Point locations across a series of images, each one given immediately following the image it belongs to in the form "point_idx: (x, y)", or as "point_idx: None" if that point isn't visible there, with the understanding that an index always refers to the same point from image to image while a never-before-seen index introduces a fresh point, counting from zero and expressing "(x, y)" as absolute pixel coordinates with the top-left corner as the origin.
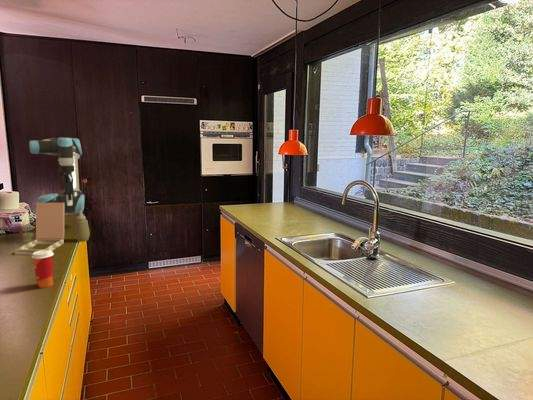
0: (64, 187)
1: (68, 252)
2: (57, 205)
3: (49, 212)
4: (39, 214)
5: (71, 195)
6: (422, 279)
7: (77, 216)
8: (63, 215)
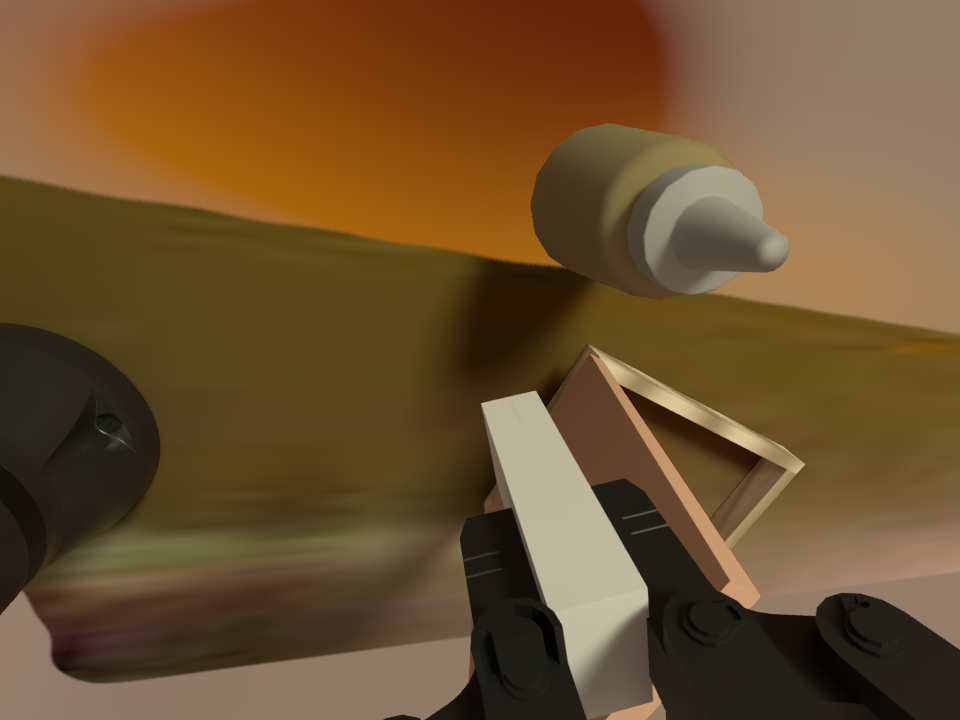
0: None
1: (838, 326)
2: None
3: None
4: None
5: (631, 567)
6: None
7: (665, 279)
8: (669, 460)
